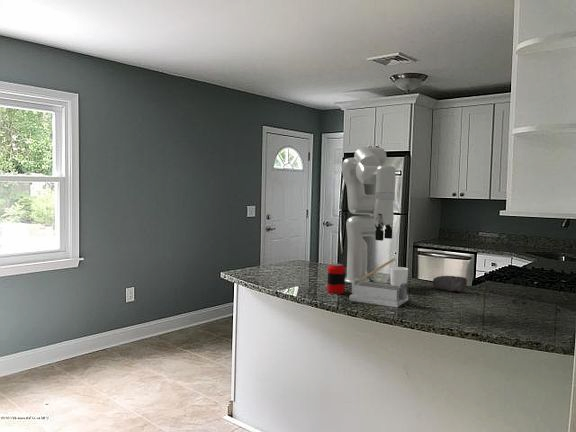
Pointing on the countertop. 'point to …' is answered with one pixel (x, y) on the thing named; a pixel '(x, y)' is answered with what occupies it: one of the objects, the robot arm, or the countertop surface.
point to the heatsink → (379, 293)
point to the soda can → (336, 279)
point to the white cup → (398, 275)
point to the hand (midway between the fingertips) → (383, 239)
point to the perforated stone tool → (450, 283)
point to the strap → (375, 270)
